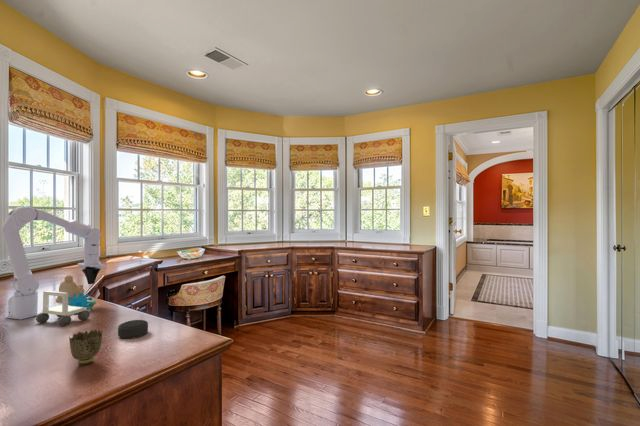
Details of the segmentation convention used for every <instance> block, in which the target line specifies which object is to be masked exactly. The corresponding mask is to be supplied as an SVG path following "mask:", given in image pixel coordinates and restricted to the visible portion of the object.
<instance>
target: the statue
mask: <svg viewBox="0 0 640 426" xmlns="http://www.w3.org/2000/svg"><path fill="white" fill-rule="evenodd" d="M58 292H65V293H68V297H71V300H72V299H73V298H74V297H73V294H76V297H78V296H79V293H80V292H81V293H83V295H82V296H80V297H83V296H85V295H86V294H84V293H85V289H84V285H83V284H77V282H75V281H74V276H73V275H72V274H67V275H65V276H64V280H63V281H61V282H60V284H59V286H58ZM85 298H87V297H85ZM59 302H62V296H56V298H55V303H59ZM68 303H70V301H69V300H68Z"/></svg>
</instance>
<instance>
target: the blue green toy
mask: <svg viewBox="0 0 640 426" xmlns="http://www.w3.org/2000/svg"><path fill="white" fill-rule="evenodd" d="M83 294H84V293H81V292H80V293H79V296H78V297H76V294H73V297H74V298H73V299H72V300H71V297H68V300H69V301H70V302H68V306H75V307H84V308H85V309H86V311H90V310H93V307H94V306H95V305H96V304H97V301H96V300H93V297H92V296H90V295H89V293H86V294H84V295H85V296H83V297H80V296H82V295H83ZM85 297H86V298H85ZM73 315H78V313H74V314H73Z"/></svg>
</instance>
